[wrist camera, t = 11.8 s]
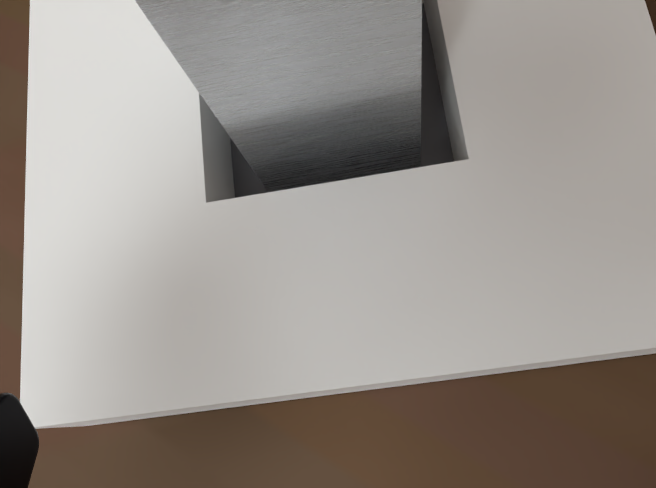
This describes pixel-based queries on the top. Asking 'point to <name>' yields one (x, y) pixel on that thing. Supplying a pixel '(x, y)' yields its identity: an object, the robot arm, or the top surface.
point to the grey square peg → (305, 81)
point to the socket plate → (334, 220)
